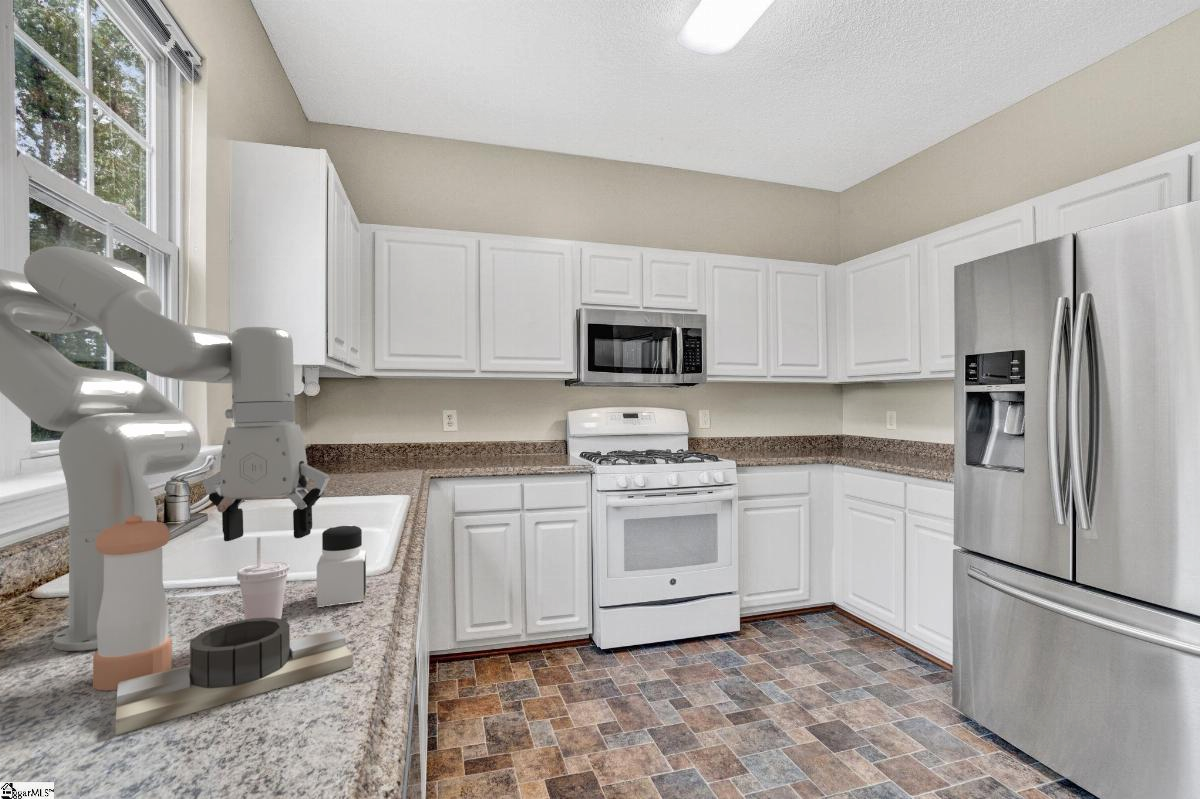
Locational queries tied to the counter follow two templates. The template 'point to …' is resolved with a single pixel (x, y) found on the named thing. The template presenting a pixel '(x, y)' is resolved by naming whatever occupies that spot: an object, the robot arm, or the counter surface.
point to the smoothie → (263, 587)
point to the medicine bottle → (341, 566)
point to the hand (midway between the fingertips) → (268, 537)
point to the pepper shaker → (132, 604)
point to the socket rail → (226, 694)
